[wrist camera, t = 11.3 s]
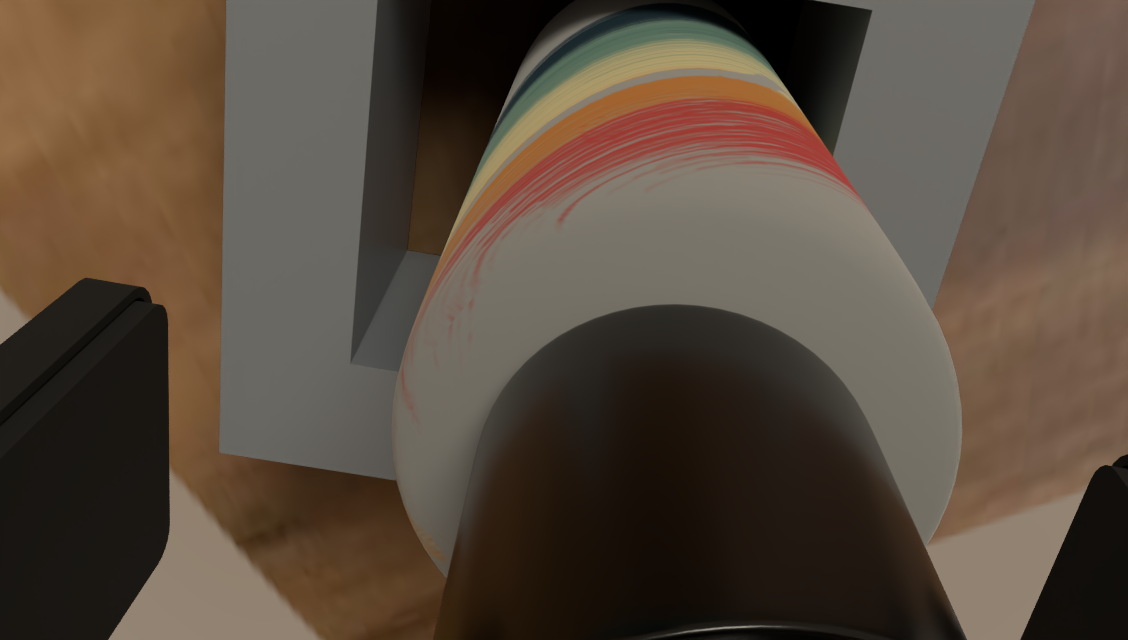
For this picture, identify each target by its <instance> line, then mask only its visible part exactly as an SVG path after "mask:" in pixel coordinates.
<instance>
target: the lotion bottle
mask: <svg viewBox="0 0 1128 640" xmlns="http://www.w3.org/2000/svg"><path fill="white" fill-rule="evenodd" d="M961 441H962V411H961V402H960V395H959V389H958V382H957V378H956V373H955V369H954V366H953V362H952V358H951V355H950V351H949V348H948V345H947V343H946V340H945V338H944V335H943V333H942V330H941V328H940V326H939V323H938V321H937V320H936V318H935V316H934V314H933V312H932V310H931V309H930V307H929V305H928V303H927V301H926V299H925V298H924V296H923V294H922V292H921V290H920V289H919V287H918V285H917V283H916V282H915V280H914V279H913V277H912V275H911V274H910V272H909V271H908V269H907V267H906V266H905V264H904V263H903V261H902V259H901V258H900V256H899V255H898V253H897V252H896V250H895V249H894V247H893V246H892V244H891V243H890V241H889V240H888V238H887V237H886V235H885V234H884V232H883V231H882V229H881V228H880V226H879V225H878V223H877V222H876V220H875V219H874V217H873V216H872V214H871V213H870V211H869V210H868V208H867V207H866V205H865V204H864V202H863V201H862V199H861V198H860V196H859V195H858V194H857V192H856V191H855V189H854V188H853V186H852V185H851V183H850V182H849V180H848V179H847V177H846V176H845V174H844V173H843V171H842V170H841V168H840V167H839V165H838V164H837V163H836V161H835V160H834V158H833V157H832V155H831V154H830V152H829V151H828V149H827V148H826V146H825V145H824V143H823V142H822V140H821V139H820V137H819V136H818V134H817V133H816V132H815V130H814V129H813V127H812V126H811V124H810V123H809V121H808V120H807V118H806V117H805V115H804V114H803V112H802V111H801V109H800V108H799V106H798V105H797V103H796V102H795V101H794V99H793V98H792V96H791V95H790V93H789V92H788V90H787V89H786V87H785V86H784V84H783V83H782V81H781V80H780V78H779V77H778V75H777V74H776V72H775V71H774V70H773V68H772V67H771V65H770V64H769V62H768V61H767V59H766V58H765V56H764V55H763V53H762V52H761V51H760V49H759V48H758V46H757V45H756V43H755V42H754V41H753V39H752V38H751V36H750V35H749V34H748V33H747V31H746V30H745V29H744V28H743V27H742V26H741V25H740V23H739V22H738V21H737V20H736V19H735V18H734V17H733V16H732V15H731V14H729V13H728V12H727V11H726V10H725V9H724V8H722V7H721V6H720V5H718V4H717V3H716V2H714V1H712V0H575V1H574V2H572V3H571V4H569V5H568V6H566V7H565V8H564V9H563V10H561V11H560V12H559V13H558V14H557V15H556V16H555V17H554V18H553V19H552V20H551V21H550V22H549V23H548V24H547V25H546V26H545V27H544V28H543V30H542V31H541V32H540V33H539V35H538V36H537V38H536V39H535V41H534V42H533V44H532V45H531V47H530V48H529V50H528V52H527V54H526V56H525V58H524V60H523V61H522V64H521V66H520V68H519V70H518V72H517V75H516V77H515V79H514V82H513V84H512V87H511V89H510V91H509V94H508V96H507V99H506V101H505V103H504V106H503V108H502V111H501V113H500V116H499V118H498V120H497V123H496V125H495V128H494V130H493V132H492V135H491V137H490V140H489V142H488V144H487V147H486V149H485V152H484V154H483V156H482V159H481V161H480V164H479V166H478V168H477V171H476V173H475V176H474V178H473V180H472V183H471V185H470V188H469V190H468V192H467V195H466V197H465V200H464V202H463V204H462V207H461V209H460V212H459V214H458V216H457V219H456V221H455V224H454V226H453V228H452V231H451V233H450V236H449V238H448V240H447V243H446V245H445V248H444V250H443V253H442V255H441V257H440V260H439V262H438V265H437V267H436V270H435V272H434V275H433V277H432V279H431V282H430V284H429V287H428V289H427V292H426V294H425V297H424V299H423V302H422V304H421V307H420V309H419V312H418V314H417V317H416V320H415V322H414V325H413V328H412V330H411V333H410V336H409V339H408V342H407V345H406V348H405V352H404V355H403V359H402V362H401V365H400V369H399V372H398V376H397V381H396V387H395V393H394V399H393V413H392V451H393V462H394V468H395V474H396V480H397V484H398V488H399V491H400V495H401V498H402V502H403V505H404V507H405V510H406V512H407V515H408V517H409V520H410V522H411V524H412V527H413V529H414V531H415V532H416V534H417V536H418V538H419V540H420V542H421V544H422V545H423V547H424V549H425V550H426V552H427V553H428V555H429V556H430V557H431V559H432V560H433V562H434V563H435V565H436V566H437V568H438V569H439V570H440V571H441V572H442V574H443V575H444V576H445V577H446V578H447V580H446V584H445V589H444V593H443V598H442V602H441V607H440V611H439V615H438V620H437V624H436V629H435V633H434V637H433V640H967V639H966V637H965V634H964V632H963V630H962V628H961V626H960V624H959V621H958V619H957V617H956V615H955V612H954V610H953V608H952V606H951V603H950V601H949V599H948V597H947V595H946V592H945V590H944V588H943V586H942V584H941V582H940V580H939V577H938V575H937V573H936V570H935V568H934V566H933V564H932V561H931V559H930V557H929V555H928V552H927V550H926V546H927V545H928V543H929V541H930V539H931V538H932V536H933V534H934V532H935V531H936V529H937V527H938V525H939V523H940V521H941V518H942V516H943V514H944V512H945V509H946V507H947V505H948V502H949V499H950V496H951V493H952V490H953V487H954V484H955V480H956V475H957V470H958V465H959V460H960V453H961Z"/></svg>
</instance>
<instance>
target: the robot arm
mask: <svg viewBox="0 0 1128 640" xmlns="http://www.w3.org/2000/svg"><path fill="white" fill-rule="evenodd" d="M169 507H170V504H169V388H168V318H167V312H166V309H165V308H164V307H163V305H159V304H153V303H152V300H151V297H150V294H149V292H148V291H147V290H146V289H145V288H144V287H138V286H132V285H126V284H120V283H114V282H108V281H102V280H97V279H91V278H84V279H82V280H80V281H79V282H78V283H76V284H75V285H74V286H73V287H71V288H70V289H69V290H68V291H66V292H65V293H64V294H63V295H61V296H60V297H59V298H58V299H56V300H55V301H54V302H53V303H51V304H50V305H49V306H48V307H46V308H45V309H44V310H43V311H42V312H40V313H39V314H38V315H37V316H35V317H34V318H33V319H32V320H30V321H29V322H28V323H27V324H25V325H24V326H23V327H22V328H20V329H19V330H18V331H17V332H16V333H14V334H13V335H12V336H11V337H9V338H8V339H7V340H6V341H4V342H3V343H2V344H1V345H0V640H108V639H109V637H110V636H111V634H112V633H113V631H114V630H115V628H116V627H117V625H118V624H119V622H120V621H121V619H122V617H123V616H124V615H125V613H126V612H127V610H128V609H129V607H130V606H131V604H132V602H133V601H134V600H135V598H136V597H137V595H138V593H139V592H140V590H141V589H142V587H143V586H144V584H145V583H146V581H147V580H148V578H149V577H150V575H151V574H152V572H153V571H154V569H155V568H156V566H157V565H158V563H159V561H160V559H161V558H162V555H163V553H164V550H165V547H166V544H167V540H168V535H169V526H170V510H169V509H170V508H169ZM1021 640H1128V454H1127V455H1124V456H1122V457H1120V458H1119V459H1118V460H1117V461H1115V462H1114V463H1113V465H1112V466H1108V465H1105V466H1102V467H1100V468H1099V469H1098V470H1097V471H1096V472H1095V473H1094V475H1093V477H1092V478H1091V480H1090V483H1089V485H1088V487H1087V489H1086V492H1085V494H1084V496H1083V499H1082V501H1081V503H1080V505H1079V508H1078V510H1077V512H1076V514H1075V517H1074V519H1073V521H1072V524H1071V526H1070V528H1069V531H1068V533H1067V535H1066V537H1065V540H1064V542H1063V544H1062V547H1061V549H1060V551H1059V553H1058V555H1057V558H1056V560H1055V563H1054V565H1053V567H1052V569H1051V572H1050V574H1049V576H1048V578H1047V580H1046V583H1045V585H1044V587H1043V590H1042V592H1041V594H1040V596H1039V599H1038V601H1037V603H1036V606H1035V608H1034V610H1033V612H1032V615H1031V617H1030V619H1029V621H1028V624H1027V626H1026V628H1025V631H1024V633H1023V635H1022V637H1021Z"/></svg>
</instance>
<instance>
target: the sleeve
mask: <svg viewBox="0 0 1128 640" xmlns="http://www.w3.org/2000/svg"><path fill="white" fill-rule="evenodd" d="M1034 3H1035V0H804V3H803V7H802V11H801V15H800V20H799V24H798V28H797V32H796V36H795V40H794V44H793V48H792V52H791V57H790V61H789V65H788V69H787V73H786V77H785V81H784V86H785V87H786V89H787V90H788V92H789V93H790V95H791V96H792V98H793V99H794V101H795V102H796V103H797V105H798V106H799V108H800V109H801V111H802V112H803V114H804V115H805V117H806V118H807V120H808V121H809V123H810V124H811V126H812V127H813V129H814V130H815V132H816V133H817V134H818V136H819V137H820V139H821V140H822V142H823V143H824V145H825V146H826V148H827V149H828V151H829V152H830V154H831V155H832V157H833V158H834V160H835V161H836V163H837V164H838V165H839V167H840V168H841V170H842V171H843V173H844V174H845V176H846V177H847V179H848V180H849V182H850V183H851V185H852V186H853V188H854V189H855V191H856V192H857V194H858V195H859V196H860V198H861V199H862V201H863V202H864V204H865V205H866V207H867V208H868V210H869V211H870V213H871V214H872V216H873V217H874V219H875V220H876V222H877V223H878V225H879V226H880V228H881V229H882V231H883V232H884V234H885V235H886V237H887V238H888V240H889V241H890V243H891V244H892V246H893V247H894V249H895V250H896V252H897V253H898V255H899V256H900V258H901V259H902V261H903V263H904V264H905V266H906V267H907V269H908V271H909V272H910V274H911V275H912V277H913V279H914V280H915V282H916V283H917V285H918V287H919V289H920V290H921V292H922V294H923V296H924V298H925V299H926V301H927V303H928V305H929V307H930V309H931V310H932V309H933V306H934V303H935V300H936V297H937V294H938V291H939V288H940V285H941V282H942V279H943V276H944V273H945V270H946V267H947V264H948V261H949V258H950V255H951V252H952V249H953V246H954V243H955V240H956V237H957V234H958V231H959V228H960V225H961V222H962V219H963V216H964V213H965V210H966V207H967V204H968V201H969V198H970V195H971V192H972V189H973V186H974V183H975V180H976V177H977V174H978V171H979V168H980V165H981V162H982V159H983V156H984V153H985V150H986V147H987V144H988V141H989V138H990V135H991V132H992V129H993V126H994V123H995V120H996V117H997V114H998V111H999V108H1000V105H1001V102H1002V99H1003V96H1004V93H1005V90H1006V87H1007V84H1008V81H1009V78H1010V75H1011V72H1012V69H1013V66H1014V63H1015V60H1016V57H1017V54H1018V51H1019V48H1020V45H1021V42H1022V39H1023V36H1024V33H1025V30H1026V27H1027V24H1028V21H1029V18H1030V15H1031V12H1032V9H1033V6H1034ZM430 10H431V0H226V63H225V126H224V189H223V252H222V314H221V377H220V440H219V453H224V454H230V455H237V456H243V457H249V458H256V459H262V460H268V461H275V462H281V463H287V464H294V465H300V466H307V467H313V468H319V469H326V470H332V471H338V472H345V473H351V474H358V475H364V476H370V477H377V478H383V479H389V480H396V474H395V468H394V462H393V451H392V413H393V399H394V393H395V387H396V381H397V376H398V372H399V369H400V365H401V362H402V359H403V355H404V352H405V348H406V345H407V342H408V339H409V336H410V333H411V330H412V328H413V325H414V322H415V320H416V317H417V314H418V312H419V309H420V307H421V304H422V302H423V299H424V297H425V294H426V292H427V289H428V287H429V284H430V282H431V279H432V277H433V275H434V272H435V270H436V267H437V265H438V262H439V260H440V257H441V256H439V255H433V254H427V253H420V252H414V251H408V250H407V248H408V238H409V228H410V217H411V207H412V196H413V186H414V176H415V165H416V155H417V145H418V134H419V124H420V114H421V103H422V93H423V82H424V72H425V62H426V51H427V41H428V31H429V20H430ZM396 481H397V480H396Z"/></svg>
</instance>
